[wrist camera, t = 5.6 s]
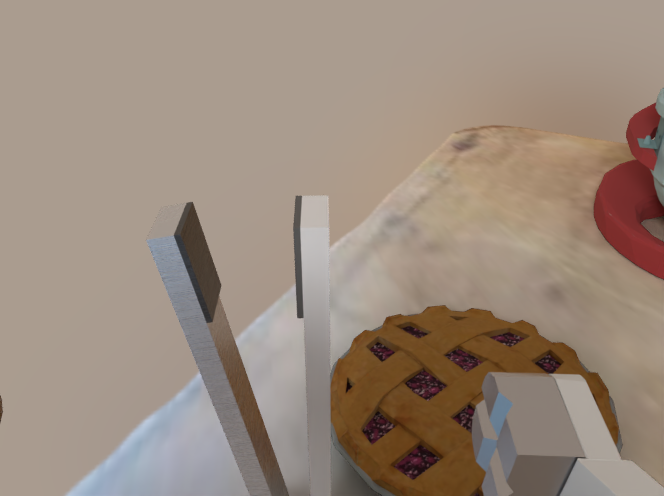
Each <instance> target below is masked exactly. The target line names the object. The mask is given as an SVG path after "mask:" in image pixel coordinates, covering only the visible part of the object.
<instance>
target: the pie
mask: <svg viewBox="0 0 664 496" xmlns="http://www.w3.org/2000/svg"><path fill="white" fill-rule="evenodd" d="M488 372H511V373H546V374H573V375H581V376H582V377H583V378H584V379H585V380H586V382H587V385H588V387H589V389H590V391H591V393H592V395H593V398H594V400H595V402H596V404H597V406H598V408H599V411H600V413H601V415H602V417H603V419H604V421H605V424H606V426H607V428H608V430H609V432H610V434H611V437H612V439H613V441H614V443H615V445H616V447H617V450H618V452H619V453H620V451H621V448H622V445H623V444H622V439H621V435H620V430H619V426H618V421H617V416H616V412H615V407H614V402H613V400H612V398H611V397H610V396H609V392H608V389H607V387H606V386H605V384H604V383H603V381H602V379H601V378H600V376H599V375H598V373H591V372H589V371H588V370H587V369H586V367H585V366H584V365H583V364H582V363H581V362H580V361H579V359H578V357H577V354H576V352H575V351H574V350H573V349H571V348H570V347H568V346H567V345H565V344H564V343H551V342H550V341H548V340H547V339H545V338H544V337H542V336H541V335H539V333H538V331H537V329H536V327H535V326H533V325H531V324H529V323H527V322H525V321H523V320H521V321H518V322H515V323H510V322H507V321H503V320H500V319H497V318H495V317H494V316H493V314H492V313H491V311H486V310H480V309H474V308H471V309H469V310H467V311H465V312H459V311H451V310H450V309H448V308H447V307H446V306H445V305H443V306H432V307H427V308H426V309H425V310H424V311H423V312H422V313H421V314H414V315H408V316H403V315H401V314H398V315H394V316H389V317H387V318H386V320H385V322H384V324H383V326H380V327H378V328H376V329H374V330H372V331H368V330H365V331H363V332H362V333H361V334H360V335H358V336H357V337H356V338H354V340H353V342H352V345H351V348H350V349H349V350H348V351H347V352H346V353H345V354H344V355H343V356H342V357H341V358H339V359H338V361H337V362H336V363H335V364H334V365H333V368H332V371H331V374H330V407H331V437H332V440H333V444H334V446H335V447H336V448H337V450H338V451H339V452H340V453H341V454H342V455H343V456H344V458H345V459H346V460H347V461H348V462H349V463H350V465H351V466H352V467H353V468H354V469H355V470H356V471H357V473H358V474H359V475H360V476H361V477H362V478H363V479H364V481H365V482H366V483H367V484H368V485H369V486H370V487H371V489H372V490H374V491H375V492H377V493H379V494H381V495H382V496H484V495H483V490H482V483H483V480H484V477H485V474H486V471H485V470H484V469H483V468H482V467H481V466H480V465H479V464H478V463H477V462H476V459H475V454H474V450H473V442H472V421H473V416H474V412H475V408H476V405H477V404H479V403H480V402H481V401H483V400H484V396H483V392H482V388H481V387H482V384H483V381H484V378H485V376H486V375H487V374H488Z"/></svg>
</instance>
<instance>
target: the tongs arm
mask: <svg viewBox="0 0 664 496" xmlns="http://www.w3.org/2000/svg"><path fill="white" fill-rule="evenodd" d="M146 241H147V243H148V246H149V248H150V251H151V253H152V256H153V258H154V260H155V263H156V265H157V268H158V270H159V273H160V275H161V278H162V280H163V283H164V285H165V288H166V290H167V293H168V295H169V298H170V300H171V302H172V305H173V307H174V310H175V312H176V315H177V317H178V319H179V322H180V325H181V327H182V329H183V332H184V334H185V337H186V339H187V342H188V344H189V347H190V349H191V352H192V354H193V356H194V359H195V361H196V364H197V366H198V369H199V371H200V374H201V376H202V379H203V381H204V384H205V386H206V389H207V391H208V393H209V396H210V398H211V401H212V403H213V406H214V408H215V411H216V413H217V416H218V418H219V420H220V423H221V425H222V428H223V430H224V433H225V435H226V438H227V440H228V443H229V445H230V448H231V450H232V452H233V455H234V457H235V460H236V462H237V465H238V467H239V470H240V472H241V475H242V477H243V480H244V482H245V484H246V487H247V489H248V492H249V494H250V496H289V494H288V491H287V488H286V485H285V482H284V479H283V476H282V474H281V471H280V468H279V465H278V462H277V459H276V456H275V454H274V451H273V448H272V445H271V442H270V439H269V437H268V434H267V431H266V428H265V425H264V422H263V419H262V417H261V414H260V411H259V408H258V405H257V402H256V399H255V397H254V394H253V391H252V388H251V385H250V382H249V380H248V377H247V374H246V371H245V368H244V365H243V362H242V360H241V357H240V354H239V351H238V348H237V345H236V342H235V340H234V337H233V334H232V331H231V328H230V325H229V322H228V320H227V317H226V314H225V311H224V308H223V305H222V303H221V300H220V297H219V293H220V289H221V283H220V280H219V277H218V274H217V271H216V268H215V266H214V263H213V260H212V257H211V254H210V251H209V248H208V245H207V242H206V240H205V236H204V233H203V231H202V228H201V225H200V222H199V219H198V216H197V213H196V210H195V208H194V204H193V202H189V203H183V204H177V205H171V206H166V207H161V209H160V212H159V214H158V216H157V218H156V220H155V222H154V224H153V226H152V229H151V231H150V233H149V235H148V237H147V239H146Z"/></svg>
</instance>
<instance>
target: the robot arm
mask: <svg viewBox="0 0 664 496" xmlns="http://www.w3.org/2000/svg"><path fill="white" fill-rule="evenodd" d="M481 388H482V392H483V396H484V400H483V401H481V402H480V403H479V404H477V405H476V408H475V412H474V416H473V421H472V442H473V450H474V454H475V459H476V462H477V463H478V464H479V465H480V466H481V467H482V468H483V469H484V470H485V471H486V474H485V477H484V480H483V483H482V490H483V495H484V496H664V487H663V486H662V485H660V484H659V483H658V482H657V481H656V480H654V479H653V478H652V477H651V476H650V475H648V474H647V473H646V472H645V471H644V470H642V469H641V468H640V467H639V466H638V465H636V464H635V463H634V462H633V461H632V460H622V458H621V456H620V454H619V452H618V450H617V447H616V445H615V443H614V441H613V439H612V437H611V434H610V432H609V430H608V428H607V426H606V424H605V421H604V419H603V417H602V415H601V413H600V411H599V408H598V406H597V404H596V402H595V400H594V398H593V395H592V393H591V391H590V389H589V387H588V385H587V382H586V380H585V379H584V378H583V377H582V376H581V375H573V374H546V373H511V372H488V374H487V375H486V376H485V378H484V381H483V384H482V387H481ZM2 413H3V410H2V399H1V396H0V422H1V417H2Z"/></svg>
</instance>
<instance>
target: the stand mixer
mask: <svg viewBox="0 0 664 496" xmlns="http://www.w3.org/2000/svg"><path fill="white" fill-rule="evenodd" d="M654 137H655V139H654V140H652V139H653V138H654ZM626 138H627V141H628V144H629V147H630V150H631V153H632V155H633V156H634V157H635V158H636V159H637V160H632V161H628V162H625V163H622V164H620V165H618V166H616V167H615V168H613V169H612V170H610V171H609V172H607V173H606V174H605V175H604V177H603V180H602V182H601V184H600V186H599V189H598V191H597V194H596V198H595V203H594V218H595V220H596V223H597V226H598V228H599V230H600V231H601V233H602V234H603V235H604V237H605V238H606V240H607V241H608V242H609V243H610V244H611V245H612V246H613V247H614V248H615V249H616V250H617V251H618V252H619V253H621V254H622V255H623V256H625V257H626V258H627V259H629V260H630V261H632V262H633V263H634V264H636V265H637V266H639V267H641V268H643V269H644V270H646V271H648V272H650V273H652V274H654V275H655V276H657V277H660V278H662V279H664V242H663V241H661V240H659V239H657V238H656V237H654V236H652V235H651V234H650V233H649V232H648V231H647V230H646V229H645V228H644V226H643V225H642V224H641V222H642V221H643V220H645V219H650V218H655V217H661V216H664V88H663V89H661V91H660V93H659V95H658V98H657V102H656V103H654V104H652V105H650V106H648V107H647V108H645V109H643V110H641V111H639V112H638V113H636V114H635V115H634V116H633V117H632V118H631V119H630V121H629V125H628V128H627V132H626Z"/></svg>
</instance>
